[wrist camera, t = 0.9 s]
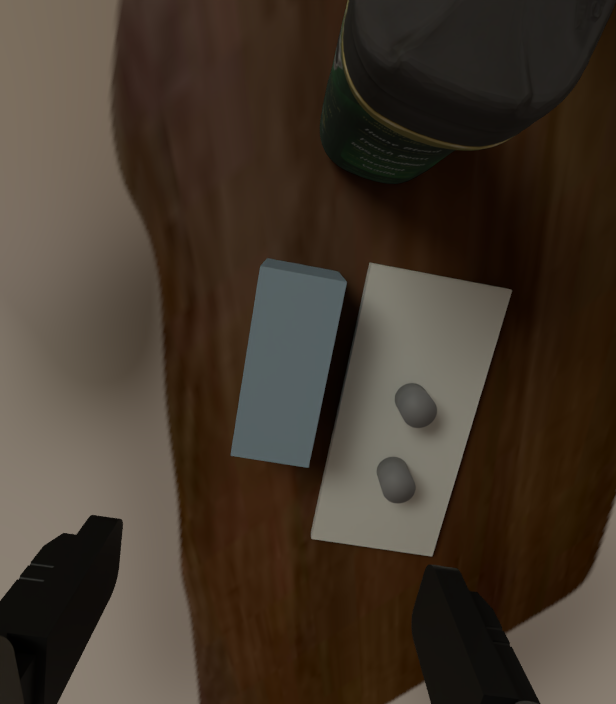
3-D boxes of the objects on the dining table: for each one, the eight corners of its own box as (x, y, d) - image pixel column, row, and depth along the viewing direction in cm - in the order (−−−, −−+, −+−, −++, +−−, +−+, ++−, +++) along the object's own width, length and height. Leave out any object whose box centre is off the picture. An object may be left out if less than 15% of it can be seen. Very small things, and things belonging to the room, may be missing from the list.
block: (267, 258, 32) (260, 266, 26) (338, 271, 32) (347, 282, 27) (241, 417, 35) (230, 455, 29) (306, 428, 36) (308, 467, 30)
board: (369, 262, 32) (377, 266, 29) (507, 288, 33) (529, 295, 30) (310, 532, 38) (312, 560, 35) (429, 549, 39) (441, 579, 36)
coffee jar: (418, 198, 31) (579, 165, 13) (306, 160, 31) (317, 71, 13) (474, 41, 29) (760, -253, 11) (353, -4, 28) (450, -400, 10)
